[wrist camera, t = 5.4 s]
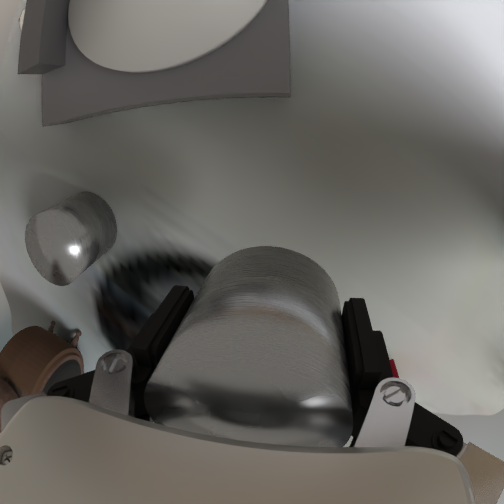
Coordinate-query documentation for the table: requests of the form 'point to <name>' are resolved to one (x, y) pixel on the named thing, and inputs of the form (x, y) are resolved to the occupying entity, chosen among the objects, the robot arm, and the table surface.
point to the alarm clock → (36, 363)
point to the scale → (152, 52)
